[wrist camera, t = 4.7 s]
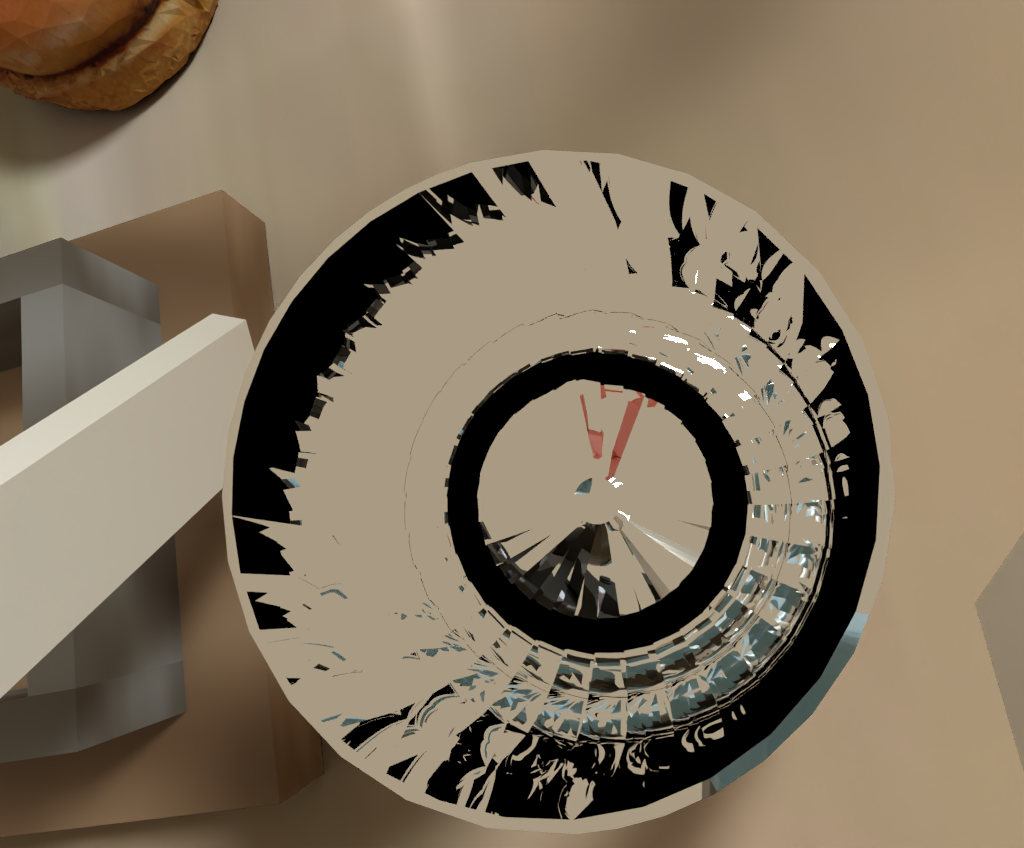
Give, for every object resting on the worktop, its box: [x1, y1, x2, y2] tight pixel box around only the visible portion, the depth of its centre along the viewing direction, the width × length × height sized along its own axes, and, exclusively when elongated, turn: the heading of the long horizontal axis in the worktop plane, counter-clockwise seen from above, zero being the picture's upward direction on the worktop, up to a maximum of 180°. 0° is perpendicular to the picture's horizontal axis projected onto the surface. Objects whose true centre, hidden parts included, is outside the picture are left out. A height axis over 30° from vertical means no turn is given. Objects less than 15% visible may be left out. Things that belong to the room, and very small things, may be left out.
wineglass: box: [222, 150, 895, 834], centre depth 10 cm, size 6×6×12 cm
